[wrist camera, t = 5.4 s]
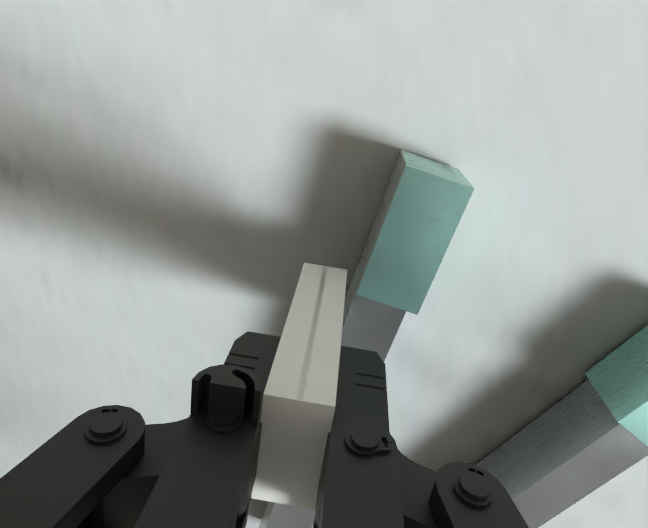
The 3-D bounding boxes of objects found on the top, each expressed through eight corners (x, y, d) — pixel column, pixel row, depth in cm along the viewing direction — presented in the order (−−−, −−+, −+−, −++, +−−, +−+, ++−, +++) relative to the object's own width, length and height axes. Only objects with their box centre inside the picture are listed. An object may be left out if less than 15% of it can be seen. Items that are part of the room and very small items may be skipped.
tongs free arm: (300, 536, 22) (291, 594, 20) (259, 524, 22) (245, 580, 20) (458, 169, 15) (474, 188, 13) (401, 149, 15) (406, 165, 13)
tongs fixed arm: (325, 614, 24) (319, 691, 21) (264, 575, 23) (248, 649, 20) (718, 332, 16) (794, 390, 14) (644, 263, 16) (706, 308, 13)
